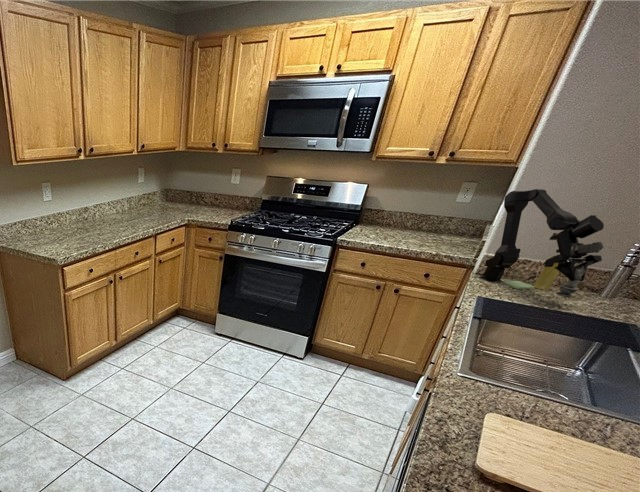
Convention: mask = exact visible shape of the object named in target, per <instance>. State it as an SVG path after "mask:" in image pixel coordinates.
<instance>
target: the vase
mask: <svg viewBox="0 0 640 492" xmlns="http://www.w3.org/2000/svg"><path fill="white" fill-rule="evenodd" d="M556 255H557V254H556ZM556 255H555V254H553V255H551V257H554V256H556ZM557 266H558V263H554V265H553V266H552V267H545V266H544V268H543V270H542V271H541V272H540V274H539V276H538V277H537V278H536V279H535V282H533V285H532V286H534V287H535V288H534V289H538V290H543V291H549V290H550V289H551V287H552V285H553V283H554V282H555V280H556V279H557V277H558V276H559V274H560V273H561V272H560V271H558V270H557V269H555V267H557Z"/></svg>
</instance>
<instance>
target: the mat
mask: <svg viewBox="0 0 640 492" xmlns="http://www.w3.org/2000/svg"><path fill="white" fill-rule="evenodd" d="M501 283H502V284H503V285H506V286H508V287H512V288H514V289H517V290H529V289H531V290H533V289H536V288H535V287H534V286H533V285H532V284H528V283H526V282H523V281H520V280H509V281H508V280H507V281H506V280H505V281H501Z"/></svg>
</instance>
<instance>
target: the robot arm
mask: <svg viewBox="0 0 640 492" xmlns="http://www.w3.org/2000/svg"><path fill="white" fill-rule="evenodd" d="M530 202H533V204H534V205H535V206H536V207H537V208H538V210H540V211H541V213H542V214H543V215H544V216H545V218H546V224H547V226H548V228H549V230H551V231H560V232H553V234H552V235H551V236H550V237H549V239H548V240H549V241H556V244H557V247H558V249H556V250H555V253H556V256H554V257H552V256H551V257H549V258H547V259H545V261H544V262H543V264H544V268H545V267H552V266H553V265H554V263H558V266H557V267H555V269H557V270H558V271H560V272H559V273H561V274H562V275H563V276H564V277H566V278H567V279H568V280H571V281H575V270H576V269H578V268H582V266H583V267H584V268H583V269H584V270H585V272H584V274H583V275H582V277H581V278H582V279H580V280H579V282H583V281H585V277H586V273H587V269H588V268H589V266H591V265H595V264H597V263H599V262H602V261H603V258H602V255H600V254H597V253H600V251H602V250H603V249H604V245H603V242H602V241H597V242H592V243H586V244H584V243H582V242H580V241H579V239H585V238H588V237H590V236H593V235H594V234H596V233H598V232H601V231H603V229H604V227H605V224H604V222H603V221H602V220H601V219H600V218H598V217H597V215H595V214H594V215H593V214H590V215H589V216H587V217H585V218H583V219H581V220H579V219H578V218H577V216H576V215H574V214H572V213H571V212H569V211H567V210H565V209H562V208H561V207H560V206H559V205H558V204H557V202H556V201H555V200H554V199H553V198H552V197H551V196H550V195H549V194H548V192H547V190H546V189H542V188H533V189H530V190H511V191H510V192H508V193H507V194H506V195H505V197H504V199H503V207H504V209H505V212H506V216H505V221H504V227H503V232H502V237H501V241H500V242H501V243H500V246H499V247H498V248H497V249H496V250H495V252H494V255H493V257H490V258H489V259H487V260H486V261H485V262H484V263H485V264H484V266H486V268H485V270H484V272H483V274H482V275H480V276H479V278H480V279H482V280H485V281H487V282H491V283H492V282H493V283H494V282H495V283H497V282H503V281H502V278H503V276H504V274H505V271H506V269H510V268H511V267H512V266H513V265H515V264H516V263H517V262H518V259H520V254H521V248H517V246H516V243H517V238H518V232H519V228H520V222H521V218H522V213H523V211H524V210H525V208H526V207H527V206H528V204H529V203H530ZM557 253H558V254H557ZM593 253H595V254H593ZM588 254H589V255H588Z"/></svg>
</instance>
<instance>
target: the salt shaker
mask: <svg viewBox="0 0 640 492" xmlns="http://www.w3.org/2000/svg"><path fill="white" fill-rule="evenodd" d="M583 268H584V267H583V266H582V268H578V269H576V270H575V281H571V280H569V279H568V280H567V281H566V282H565V283H561V284H559V288H558V289H559V291H557V292H555V295H556V296H560V297H563V298H568V299H569V298H570V299H571V298H574V297H573V295H572V294H574V293H576V292H577V291H578V290H580V288H579V286H577V285H578V283H579V282H580V281H579V280H580V279H582V278H581V277H582V275H583V274H584V272H585V270H584V269H583Z"/></svg>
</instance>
